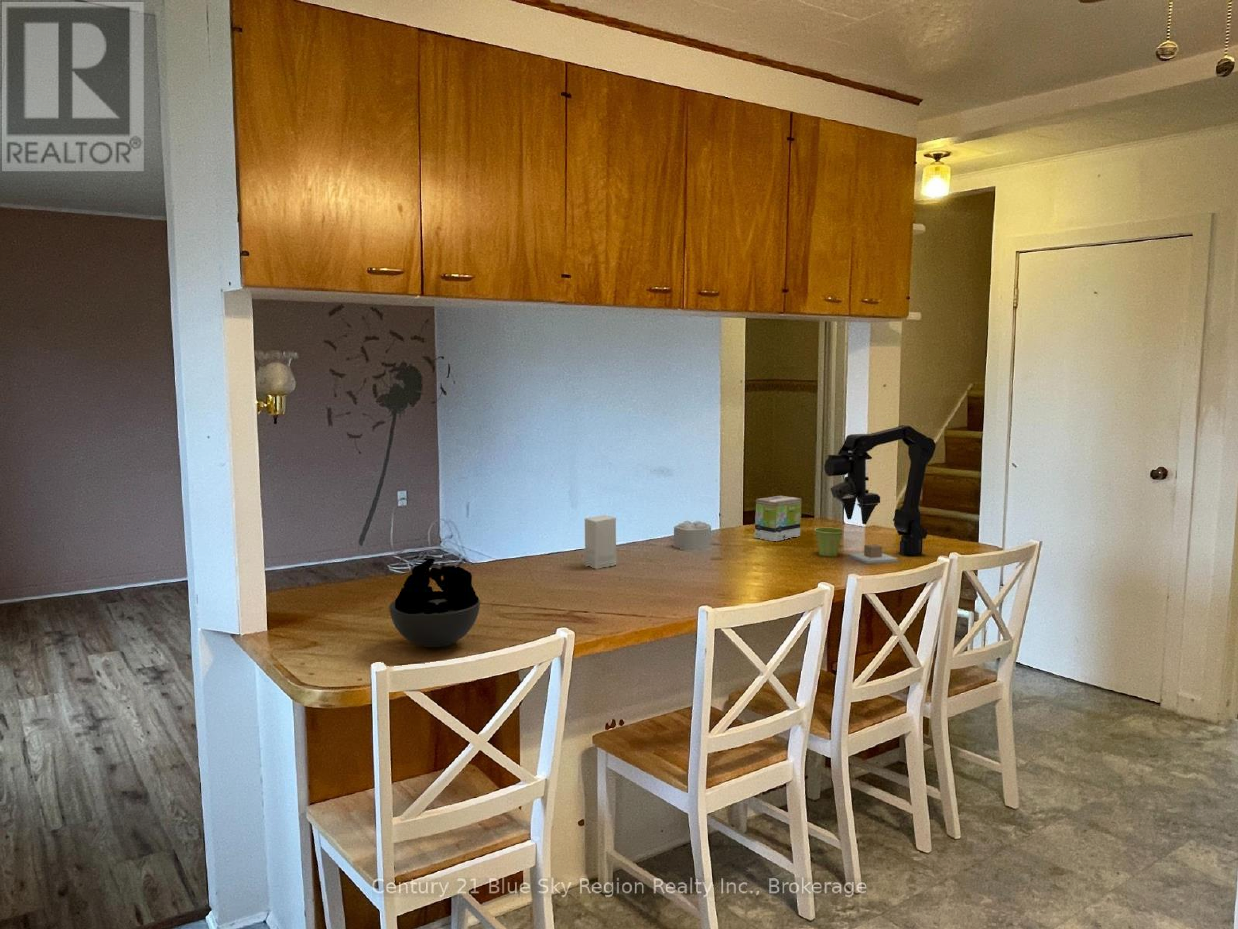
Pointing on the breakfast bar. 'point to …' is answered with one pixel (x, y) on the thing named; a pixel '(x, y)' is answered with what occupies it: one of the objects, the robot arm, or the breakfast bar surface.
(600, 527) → the skincare box
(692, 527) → the lumpy-topped squat cylinder
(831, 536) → the plant pot
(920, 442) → the robot arm
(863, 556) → the lid
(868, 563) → the mat
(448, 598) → the coal bowl
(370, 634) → the breakfast bar surface
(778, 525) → the tea box
